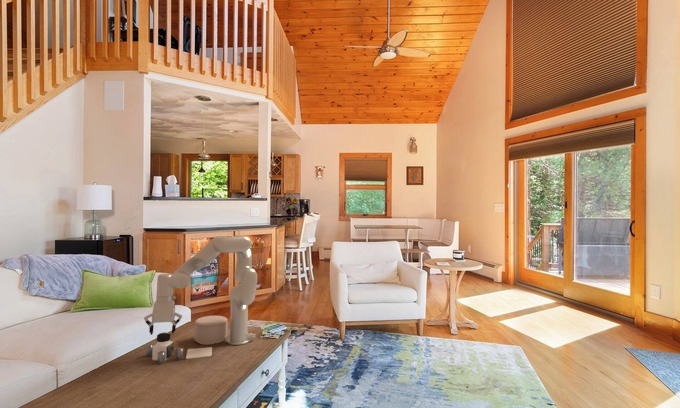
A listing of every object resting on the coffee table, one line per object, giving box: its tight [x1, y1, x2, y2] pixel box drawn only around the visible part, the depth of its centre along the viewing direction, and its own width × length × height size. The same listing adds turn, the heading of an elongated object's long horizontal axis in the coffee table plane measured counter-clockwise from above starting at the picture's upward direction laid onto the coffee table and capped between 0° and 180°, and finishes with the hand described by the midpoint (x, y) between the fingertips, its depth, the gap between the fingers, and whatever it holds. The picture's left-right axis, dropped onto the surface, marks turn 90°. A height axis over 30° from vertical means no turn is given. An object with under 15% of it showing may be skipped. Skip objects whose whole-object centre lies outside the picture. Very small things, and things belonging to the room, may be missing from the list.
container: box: [193, 315, 229, 345], centre depth 208 cm, size 18×18×12 cm
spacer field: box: [145, 344, 184, 365], centre depth 181 cm, size 18×16×5 cm
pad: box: [185, 346, 213, 360], centre depth 187 cm, size 12×12×1 cm
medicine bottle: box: [151, 331, 174, 362], centre depth 181 cm, size 7×7×12 cm
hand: (162, 333), depth 181 cm, fingers open, 9 cm apart
